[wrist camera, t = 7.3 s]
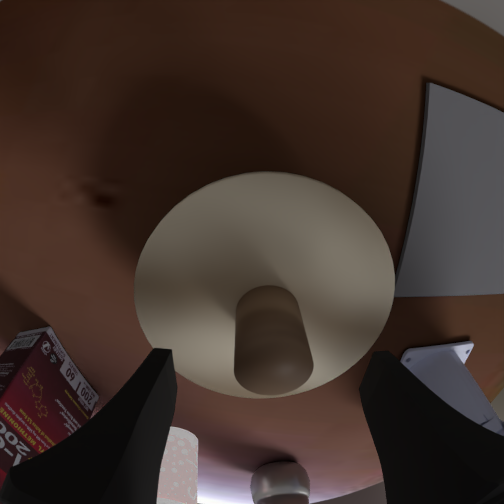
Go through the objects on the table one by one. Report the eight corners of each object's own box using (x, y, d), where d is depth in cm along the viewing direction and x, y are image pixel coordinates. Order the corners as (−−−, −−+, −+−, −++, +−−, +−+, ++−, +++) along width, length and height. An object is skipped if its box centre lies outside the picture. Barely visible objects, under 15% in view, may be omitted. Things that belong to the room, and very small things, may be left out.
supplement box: (102, 396, 24) (53, 546, 9) (66, 396, 24) (14, 527, 10) (51, 322, 20) (-46, 482, 6) (17, 328, 21) (-71, 463, 6)
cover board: (350, 387, 17) (368, 444, 13) (149, 377, 16) (132, 437, 12) (415, 193, 12) (475, 227, 8) (135, 161, 12) (85, 184, 8)
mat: (511, 290, 20) (514, 292, 20) (390, 293, 20) (392, 297, 19) (548, 138, 15) (551, 139, 14) (426, 82, 14) (429, 82, 14)
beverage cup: (199, 456, 28) (191, 569, 15) (144, 443, 27) (122, 555, 14) (212, 430, 26) (204, 565, 13) (148, 415, 25) (119, 549, 12)
